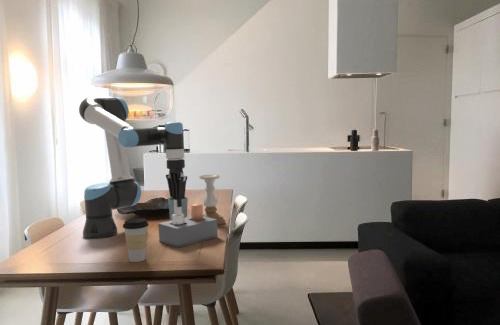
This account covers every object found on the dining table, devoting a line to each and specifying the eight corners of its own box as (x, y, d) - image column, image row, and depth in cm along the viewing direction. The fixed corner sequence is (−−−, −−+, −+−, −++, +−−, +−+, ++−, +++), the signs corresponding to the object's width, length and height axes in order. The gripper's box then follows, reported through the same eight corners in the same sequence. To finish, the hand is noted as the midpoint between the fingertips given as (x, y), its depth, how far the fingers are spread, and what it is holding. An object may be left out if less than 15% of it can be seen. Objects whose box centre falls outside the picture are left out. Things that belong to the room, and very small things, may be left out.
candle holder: (225, 223, 213) (224, 176, 211) (206, 226, 208) (204, 178, 205) (216, 219, 222) (214, 174, 220) (196, 222, 217) (195, 175, 214)
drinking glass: (165, 222, 218) (164, 199, 217) (173, 218, 228) (172, 196, 227) (184, 223, 216) (183, 200, 215) (191, 218, 226) (190, 196, 224)
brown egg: (196, 222, 185) (195, 206, 185) (189, 220, 189) (188, 205, 188) (205, 220, 189) (205, 204, 188) (198, 218, 193) (198, 203, 192)
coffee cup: (127, 265, 155) (125, 224, 153) (122, 258, 163) (120, 219, 161) (153, 260, 159) (151, 221, 157) (147, 254, 167) (145, 216, 166)
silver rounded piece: (176, 233, 179) (176, 216, 178) (170, 230, 183) (169, 214, 182) (187, 230, 182) (186, 214, 182) (180, 228, 186) (179, 212, 185)
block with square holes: (177, 247, 174) (176, 228, 173) (159, 241, 184) (158, 223, 184) (217, 237, 188) (217, 219, 188) (198, 231, 199) (198, 214, 198)
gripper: (191, 159, 177) (194, 214, 179) (174, 157, 187) (177, 210, 189) (176, 160, 172) (179, 218, 174) (159, 159, 182) (162, 213, 184)
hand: (178, 214), depth 182 cm, fingers closed
